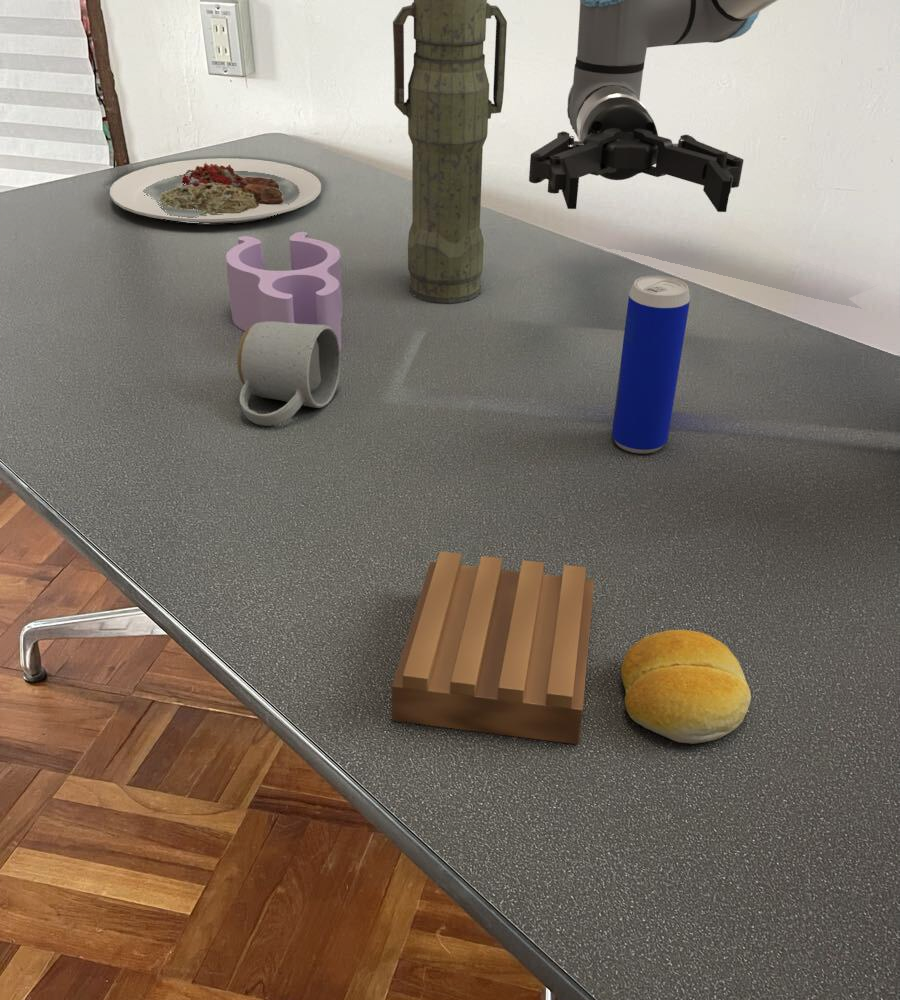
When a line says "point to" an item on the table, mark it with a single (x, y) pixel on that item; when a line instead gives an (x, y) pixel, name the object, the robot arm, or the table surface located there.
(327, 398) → the ceramic mug
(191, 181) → the plated food
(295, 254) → the clip
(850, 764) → the table surface
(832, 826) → the table surface
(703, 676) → the bread roll
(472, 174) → the olive green vase
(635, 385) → the beverage can
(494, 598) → the rack
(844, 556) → the table surface
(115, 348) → the table surface
